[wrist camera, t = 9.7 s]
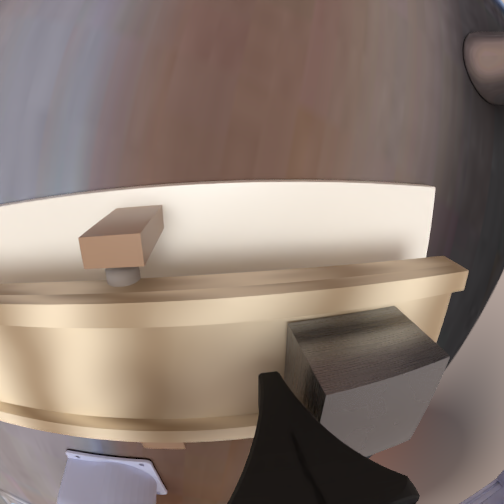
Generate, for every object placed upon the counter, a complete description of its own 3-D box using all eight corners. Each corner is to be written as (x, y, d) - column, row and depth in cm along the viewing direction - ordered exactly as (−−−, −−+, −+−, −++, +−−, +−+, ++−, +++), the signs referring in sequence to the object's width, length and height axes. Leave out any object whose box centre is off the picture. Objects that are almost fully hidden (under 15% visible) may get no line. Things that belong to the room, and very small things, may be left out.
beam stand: (-5, 372, 18) (-33, 417, 12) (-57, 216, 13) (-109, 243, 7) (391, 361, 22) (427, 411, 16) (425, 184, 17) (492, 205, 11)
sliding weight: (281, 407, 13) (306, 474, 10) (287, 322, 12) (325, 395, 8) (372, 386, 14) (409, 439, 10) (394, 305, 12) (450, 356, 9)
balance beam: (-27, 387, 13) (-41, 411, 10) (-76, 272, 10) (-101, 290, 7) (402, 374, 17) (422, 401, 14) (437, 242, 14) (471, 260, 11)
